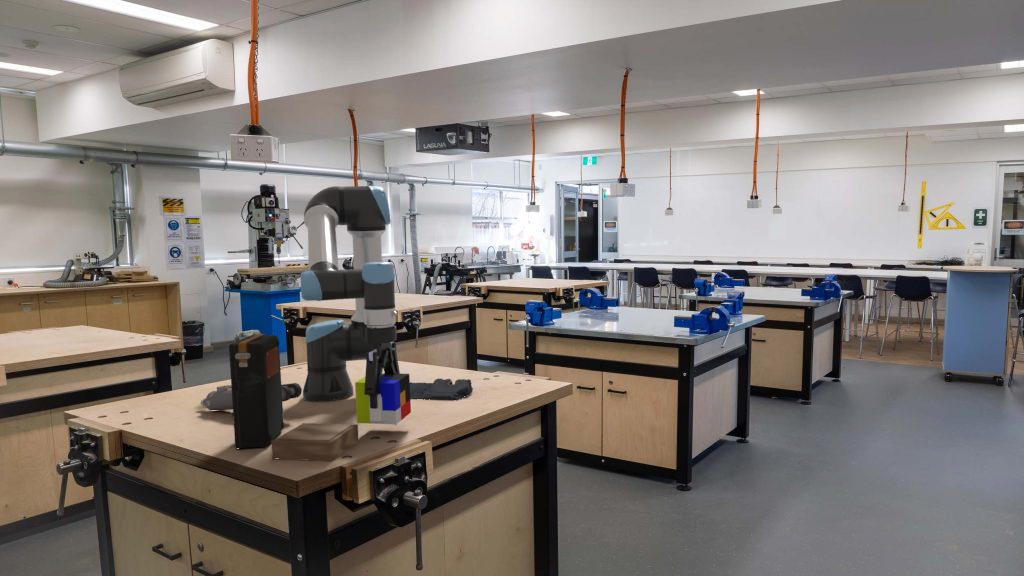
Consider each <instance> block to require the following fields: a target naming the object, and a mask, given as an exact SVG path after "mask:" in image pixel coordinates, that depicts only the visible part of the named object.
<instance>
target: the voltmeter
mask: <svg viewBox="0 0 1024 576" xmlns="http://www.w3.org/2000/svg"><path fill="white" fill-rule="evenodd" d="M228 352H229V353H228V354H229V368H230V371H229V372H230V385H231V387H232V388H231V389H232V403H233V409H232V418H233V432H234V434H233V435H234V447H235V449H237V448H241V449H245V448H244V447H250V448H264V447H267V446H268V445H269V444H270V443H271V441H273V440H274V439H276V438H277V436H278V435H279V434H280V433H281V432H282V430H284V426H285V421H284V409H283V408H284V407H283V402H282V387H281V385H282V373H281V358H280V355H281V354H280V340H279V337H278V336H277V335H275V334H273V335H272V334H271V335H266V333H261V334H257V335H255V336H254V335H250V336H248V337H245V338H243V339H241V340H238V341H236V342H234V343H233V342H232V343H230V344H229V345H228Z"/></svg>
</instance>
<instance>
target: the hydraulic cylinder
mask: <svg viewBox="0 0 1024 576" xmlns="http://www.w3.org/2000/svg"><path fill="white" fill-rule="evenodd" d="M281 387H282V403H284V402H287V401H289V400H291V399H296V398H299V397H300V396H302V393H303V388H302V387H301V385H300V384H299V383H297V382H291V383H285V384H283V383H282V384H281ZM200 404H201V406H203V407H206V408H207V409H208V410H209V411H210V410H223V411H230V410H232V411H233V403H232V387H231V384H227V385H221V386H216V390H214V391H210V392H209V393H208V394H207V395H206V398H203V399H202V400H201V401H200Z"/></svg>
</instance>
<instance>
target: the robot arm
mask: <svg viewBox="0 0 1024 576" xmlns="http://www.w3.org/2000/svg"><path fill="white" fill-rule="evenodd" d="M389 205H390V204H389V200H388V196H387V193H386V191H385V189H384V188H383V187H382V186H375V185H374V186H373V185H363V186H361V185H358V186H357V185H356V186H355V185H354V186H353V185H352V186H339V185H338V186H336V185H335V186H333V185H332V186H330V187H326V188H323V189H322V190H320V191H318V192H317V193H316V194H315V195H314V196H313V197H311V199H310V200H309V201H308V202H307V204H306V207H305V209H304V212H303V221H304V225H305V227H306V228H307V246H308V247H307V248H308V250H307V252H308V257H307V258H308V261H307V262H308V270H306V271H302V272H301V273H300V292H301V293H300V295H301V298H302V300H304V301H309V302H310V301H312V302H314V301H317V302H321V301H333V300H351V299H352V300H353V299H354V300H355V313H354V314H353V315H352V316H351V318H350V322H351V323H345V321H344V320H343V319H332V320H327V321H325V320H324V321H322V322H317V323H314V324H311V325H309V326H308V327H307V328H306V330H305V344H306V347H305V348H306V366H307V368H306V369H307V374H306V379H305V382H304V386H303V388H302V399H303V400H304V401H307V400H308V401H309V402H329V401H331V402H332V401H338V400H342V399H343V400H344V399H346V398H349V397H352V396H353V395H354V386H353V384H352V383H353V382H352V381H351V378H350V376H349V373H348V370H347V362H352V361H354V362H355V361H365V360H366V361H365V376H364V377H365V389H364V393H365V395H369V407H370V421H382V409H381V394H379V390H380V383H381V377H382V373H385V374H395V373H397V374H401V371H400V366H399V360H398V354H397V343H396V341H397V338H398V337H397V326H396V325H395V324H396V320H397V319H396V316H398V312H397V311H396V303H395V302H396V299H395V277H396V276H395V275H396V274H395V271H394V265H393V263H392V262H389V261H383V253H382V251H383V250H382V235H383V234H384V233H385V232H386V230H387V228H386V227H387V226H389V225H390V224H391V212H390V206H389ZM337 226H346V231H347V232H348V233H349V234H350V236H352V237H351V238H352V253H353V254H352V255H353V269H339V255H338V245H337V243H338V242H337V233H336V232H337V231H336V229H337Z"/></svg>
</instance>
